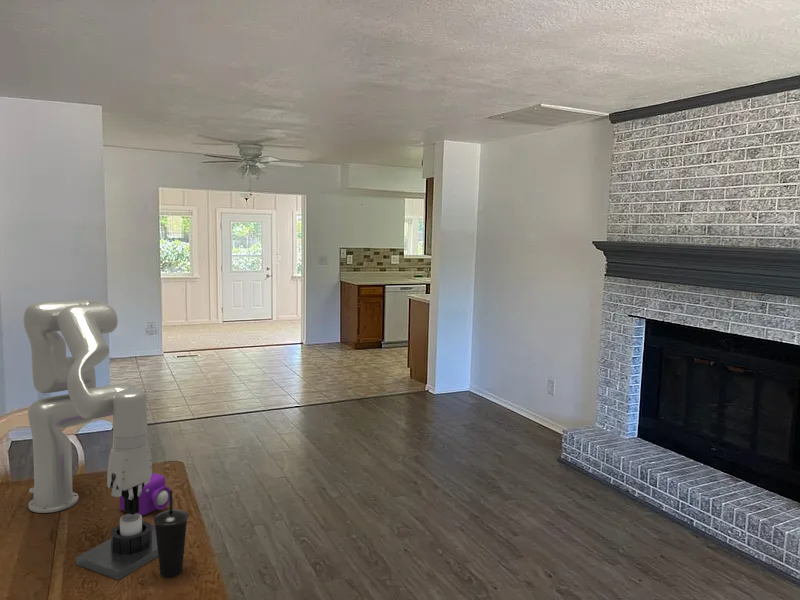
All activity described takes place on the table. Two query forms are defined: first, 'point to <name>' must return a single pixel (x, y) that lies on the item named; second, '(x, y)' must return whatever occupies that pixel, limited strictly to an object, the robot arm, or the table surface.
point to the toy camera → (152, 495)
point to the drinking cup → (171, 539)
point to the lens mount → (121, 553)
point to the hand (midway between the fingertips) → (131, 512)
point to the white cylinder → (130, 524)
